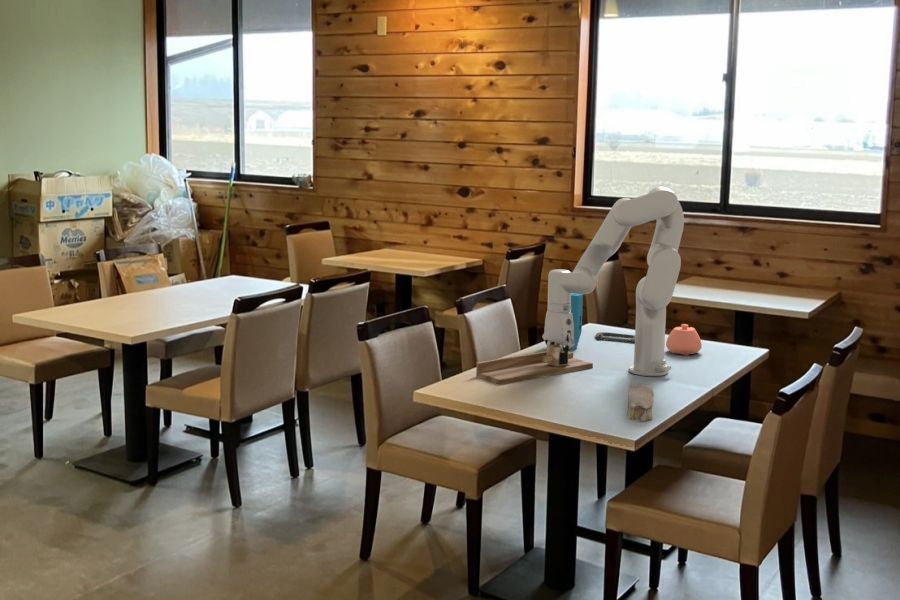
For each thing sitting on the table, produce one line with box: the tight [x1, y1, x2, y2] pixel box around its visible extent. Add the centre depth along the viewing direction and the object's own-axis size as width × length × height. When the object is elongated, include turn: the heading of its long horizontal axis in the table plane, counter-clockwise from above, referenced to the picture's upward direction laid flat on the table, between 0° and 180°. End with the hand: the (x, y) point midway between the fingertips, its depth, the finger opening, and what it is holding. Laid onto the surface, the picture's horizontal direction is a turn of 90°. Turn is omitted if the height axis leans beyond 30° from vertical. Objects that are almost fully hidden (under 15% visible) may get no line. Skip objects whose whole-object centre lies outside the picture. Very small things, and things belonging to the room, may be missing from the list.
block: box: [556, 293, 584, 351], centre depth 350 cm, size 12×5×20 cm, turn 59°
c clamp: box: [595, 331, 635, 344], centre depth 366 cm, size 20×17×3 cm
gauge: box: [542, 344, 574, 366], centre depth 319 cm, size 5×12×7 cm, turn 125°
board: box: [476, 349, 594, 385], centre depth 317 cm, size 12×39×4 cm, turn 125°
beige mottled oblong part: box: [626, 384, 655, 423], centre depth 276 cm, size 24×8×5 cm, turn 169°
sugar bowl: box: [665, 323, 703, 357], centre depth 346 cm, size 12×14×10 cm
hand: (557, 361), depth 320 cm, fingers closed on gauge, 5 cm apart
